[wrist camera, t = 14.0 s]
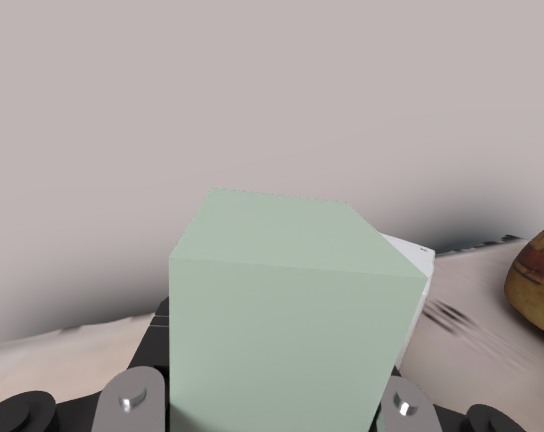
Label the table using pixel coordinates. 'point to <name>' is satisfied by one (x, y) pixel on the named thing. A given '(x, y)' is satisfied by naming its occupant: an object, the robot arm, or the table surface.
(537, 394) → the table surface
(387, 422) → the robot arm
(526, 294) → the ceramic pitcher
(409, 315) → the sage block
